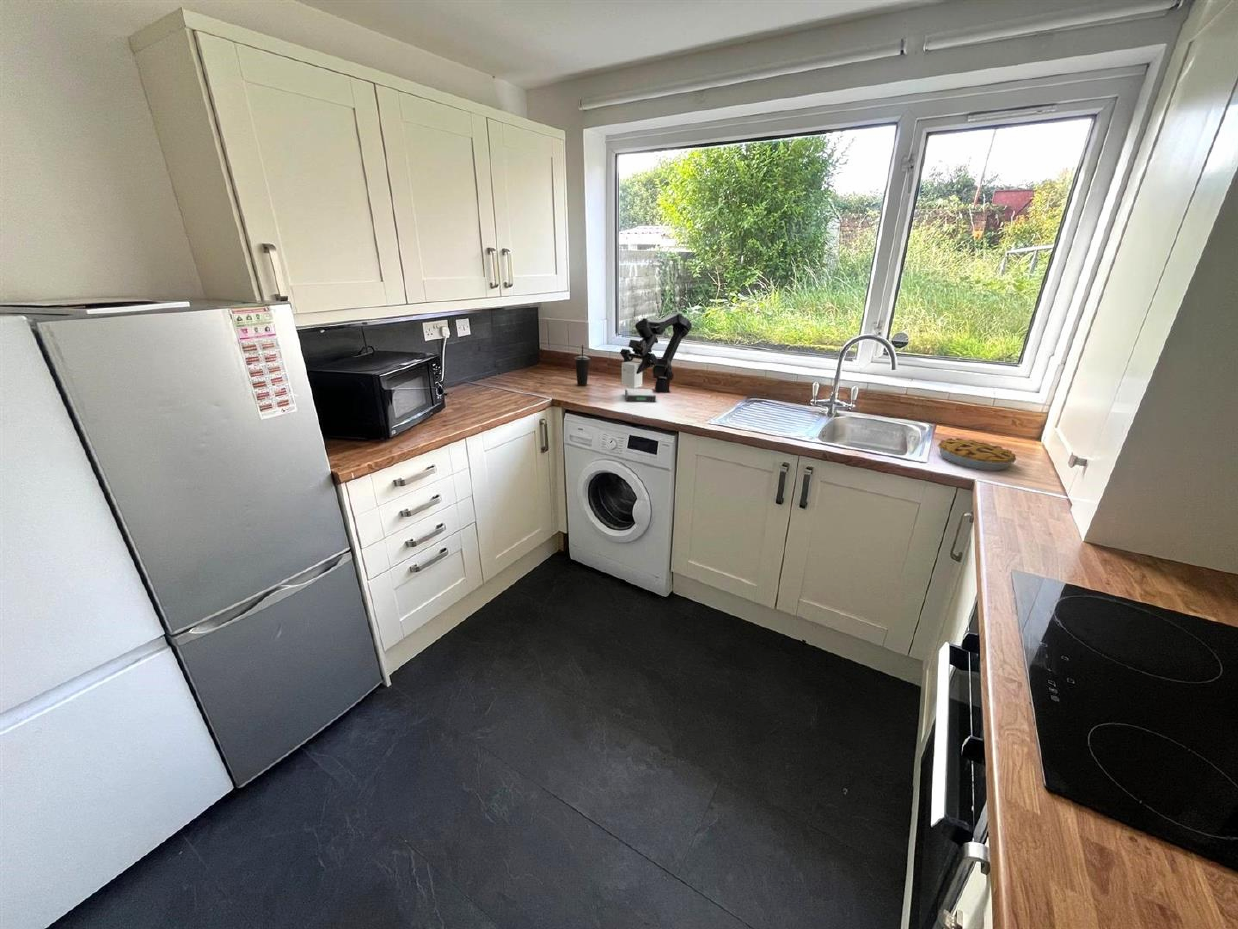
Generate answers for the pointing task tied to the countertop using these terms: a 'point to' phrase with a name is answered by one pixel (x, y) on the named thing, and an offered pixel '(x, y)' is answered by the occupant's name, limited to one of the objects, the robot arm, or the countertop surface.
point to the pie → (976, 454)
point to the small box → (631, 375)
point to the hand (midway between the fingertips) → (629, 372)
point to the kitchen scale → (639, 395)
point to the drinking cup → (582, 369)
